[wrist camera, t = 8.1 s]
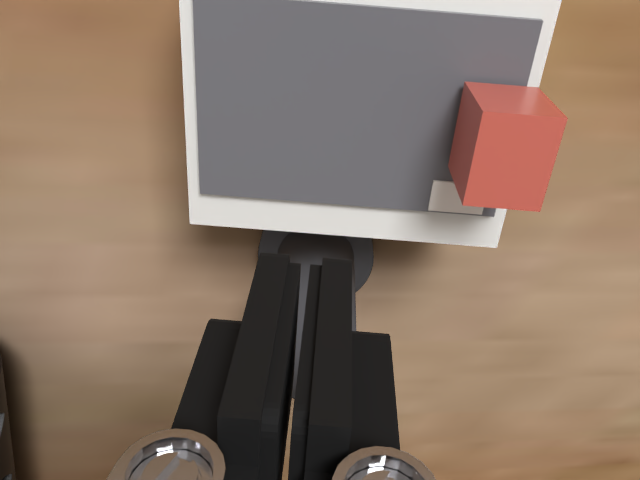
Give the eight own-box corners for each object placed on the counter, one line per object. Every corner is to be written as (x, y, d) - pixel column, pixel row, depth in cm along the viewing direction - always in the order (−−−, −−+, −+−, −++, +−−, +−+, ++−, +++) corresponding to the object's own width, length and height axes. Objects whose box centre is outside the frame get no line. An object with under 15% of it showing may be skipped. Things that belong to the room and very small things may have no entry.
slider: (537, 87, 19) (567, 117, 17) (516, 171, 21) (540, 211, 18) (464, 81, 19) (482, 111, 17) (447, 166, 21) (462, 205, 18)
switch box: (513, -52, 24) (574, -30, 18) (465, 173, 29) (499, 253, 23) (218, -76, 24) (172, -63, 18) (221, 154, 29) (187, 228, 23)
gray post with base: (379, 202, 30) (391, 311, 23) (366, 297, 33) (372, 422, 26) (261, 193, 30) (233, 299, 22) (259, 289, 33) (233, 411, 26)
